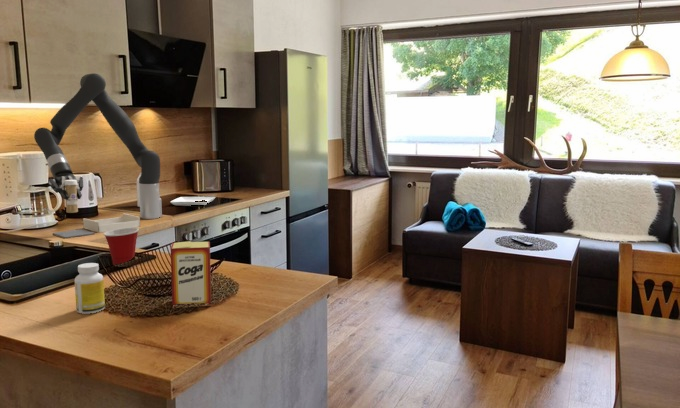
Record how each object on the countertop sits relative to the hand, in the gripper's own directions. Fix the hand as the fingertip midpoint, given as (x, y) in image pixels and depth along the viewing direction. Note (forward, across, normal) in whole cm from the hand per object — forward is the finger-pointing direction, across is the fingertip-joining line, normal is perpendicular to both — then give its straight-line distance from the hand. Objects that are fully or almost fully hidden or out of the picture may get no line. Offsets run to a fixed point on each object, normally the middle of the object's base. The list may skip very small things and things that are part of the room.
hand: (73, 198), depth 218 cm
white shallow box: (+7, +18, +14) cm, 24 cm away
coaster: (+10, 0, +12) cm, 16 cm away
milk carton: (-25, +61, +47) cm, 81 cm away
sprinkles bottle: (+3, 0, +6) cm, 7 cm away
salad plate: (-18, +85, +40) cm, 96 cm away
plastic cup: (+53, -11, -32) cm, 63 cm away
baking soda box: (+87, -17, -66) cm, 111 cm away
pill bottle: (+77, -37, -56) cm, 102 cm away
